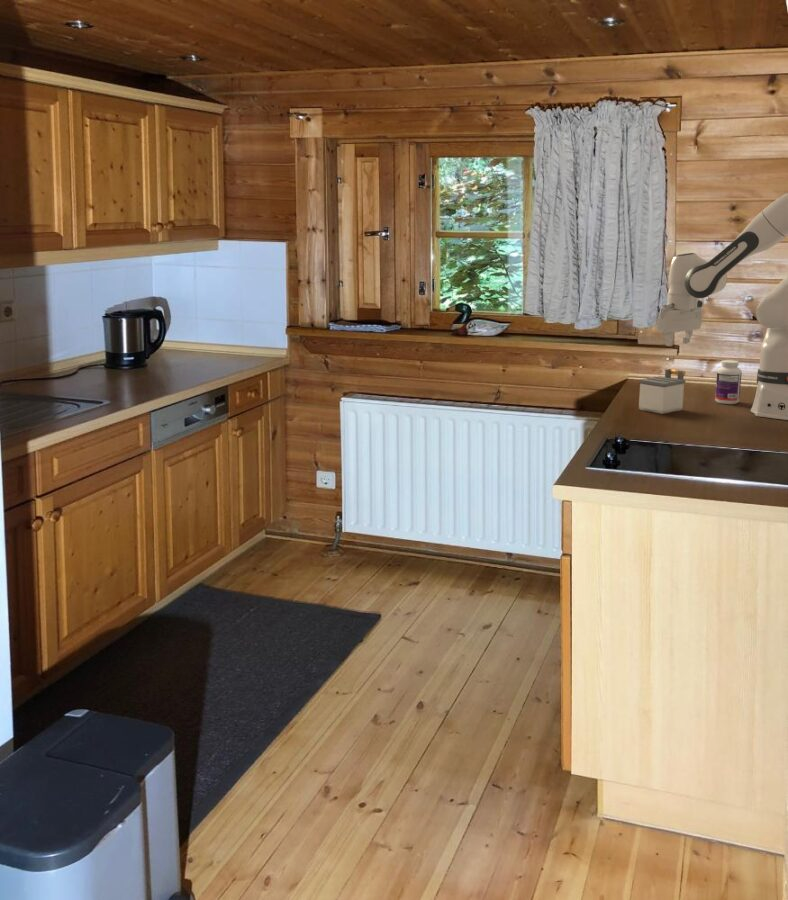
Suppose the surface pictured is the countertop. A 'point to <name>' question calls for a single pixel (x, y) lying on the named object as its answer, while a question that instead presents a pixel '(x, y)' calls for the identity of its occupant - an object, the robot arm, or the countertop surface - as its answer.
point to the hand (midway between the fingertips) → (677, 344)
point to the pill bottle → (728, 383)
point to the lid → (666, 379)
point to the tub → (661, 398)
